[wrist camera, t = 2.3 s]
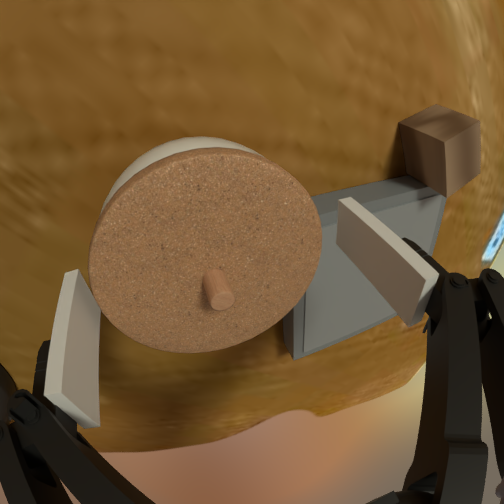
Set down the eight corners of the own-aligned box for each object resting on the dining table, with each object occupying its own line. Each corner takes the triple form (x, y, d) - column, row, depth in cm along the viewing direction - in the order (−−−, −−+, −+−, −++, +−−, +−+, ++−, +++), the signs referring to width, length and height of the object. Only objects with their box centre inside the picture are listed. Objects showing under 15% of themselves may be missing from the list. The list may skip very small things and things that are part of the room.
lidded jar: (214, 285, 24) (254, 387, 17) (80, 240, 18) (60, 355, 11) (295, 167, 20) (382, 240, 13) (153, 86, 15) (162, 106, 7)
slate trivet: (283, 342, 31) (294, 361, 29) (276, 205, 22) (292, 223, 20) (402, 293, 35) (415, 306, 32) (431, 170, 25) (451, 182, 23)
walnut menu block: (405, 172, 24) (446, 198, 20) (397, 122, 21) (444, 142, 17) (440, 151, 24) (480, 173, 20) (435, 103, 21) (479, 120, 17)
